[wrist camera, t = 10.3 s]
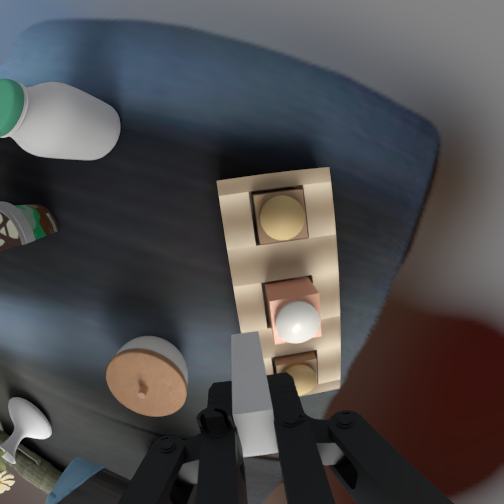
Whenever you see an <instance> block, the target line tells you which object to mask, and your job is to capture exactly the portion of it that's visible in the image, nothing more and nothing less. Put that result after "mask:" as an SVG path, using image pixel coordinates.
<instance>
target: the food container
mask: <svg viewBox="0 0 504 504" xmlns="http://www.w3.org/2000/svg"><path fill="white" fill-rule="evenodd" d="M58 231H60V230H59V227H58V223H57V221H56V220H55V218H54V216H53V214H52V213H51V212H50V211H49V210H48V209H47V208H46V207H43V206H41V205H39V204H29V205H16V206H14V205H12V204H10V203H8V202H0V251H3V250H6V249H9V248H12V247H15V246H18V245H21V244H22V245H25V244H27V243H30V242H32V241H35V240H37V239H40V238H42V237H45V236H47V235H50V234H52V233H55V232H58Z"/></svg>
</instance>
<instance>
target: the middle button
mask: <svg viewBox="0 0 504 504" xmlns="http://www.w3.org/2000/svg"><path fill="white" fill-rule="evenodd" d="M265 290H266V297H267V305H268V313H269V320H270V326H271V330H272V335H273V339H274V343H275V345H276V344H282V343H288V342H289V343H303V342H305V341H308V340H309V339H311V338H316V337H321V336H322V335H321V315H320V298H319V292H318V291H317V289H316V288H315V286H314V285H313V284H312V282H311V281H310V279H309V278H308V277H307V278H301V279H294V280H288V281H282V282H275V283H269V284H265Z"/></svg>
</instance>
